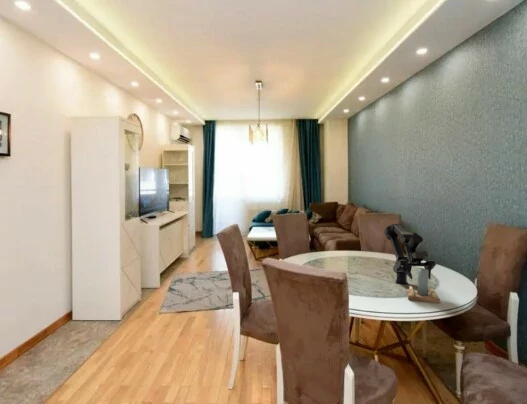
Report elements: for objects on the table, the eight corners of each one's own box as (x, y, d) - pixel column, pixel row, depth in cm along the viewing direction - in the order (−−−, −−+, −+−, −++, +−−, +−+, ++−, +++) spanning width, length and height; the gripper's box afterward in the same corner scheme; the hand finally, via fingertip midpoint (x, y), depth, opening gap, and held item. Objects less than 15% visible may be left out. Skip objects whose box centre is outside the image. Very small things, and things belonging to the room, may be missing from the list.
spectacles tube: (415, 293, 168) (416, 268, 167) (422, 292, 169) (422, 267, 169) (423, 296, 163) (423, 271, 162) (429, 295, 165) (430, 270, 164)
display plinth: (406, 292, 175) (406, 285, 175) (435, 295, 171) (435, 288, 170) (408, 300, 164) (408, 292, 164) (439, 303, 159) (439, 295, 159)
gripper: (399, 245, 173) (407, 271, 162) (435, 245, 172) (445, 271, 162) (393, 256, 181) (400, 281, 171) (427, 256, 181) (436, 282, 170)
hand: (420, 279), depth 168 cm, fingers open, 9 cm apart
